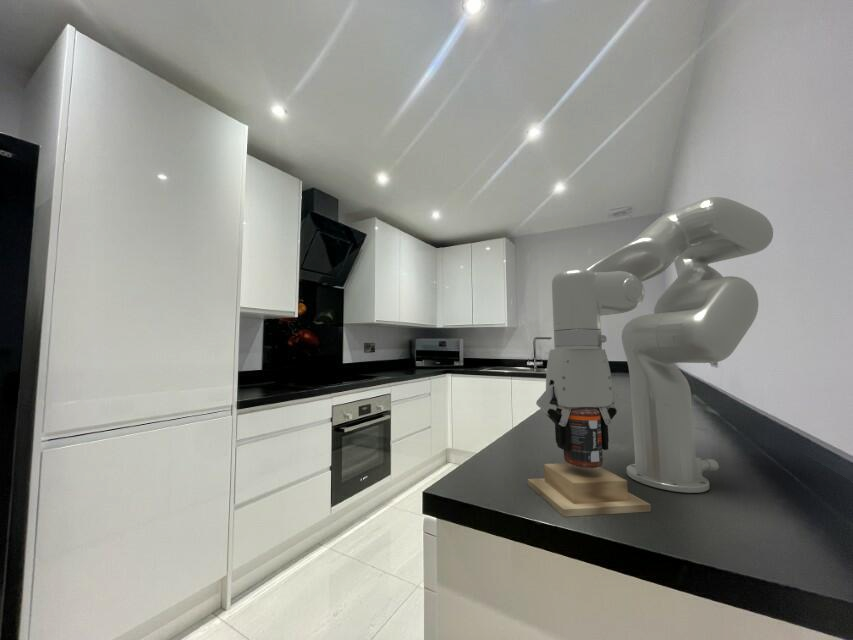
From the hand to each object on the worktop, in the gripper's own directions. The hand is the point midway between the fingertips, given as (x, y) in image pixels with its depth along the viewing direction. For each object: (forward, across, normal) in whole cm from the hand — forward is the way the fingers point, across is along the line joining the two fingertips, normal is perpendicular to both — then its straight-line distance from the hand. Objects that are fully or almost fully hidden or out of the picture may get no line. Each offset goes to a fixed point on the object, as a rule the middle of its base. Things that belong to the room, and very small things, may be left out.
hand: (582, 447), depth 55 cm
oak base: (+8, 0, 0) cm, 8 cm away
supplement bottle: (+3, 0, 0) cm, 3 cm away
